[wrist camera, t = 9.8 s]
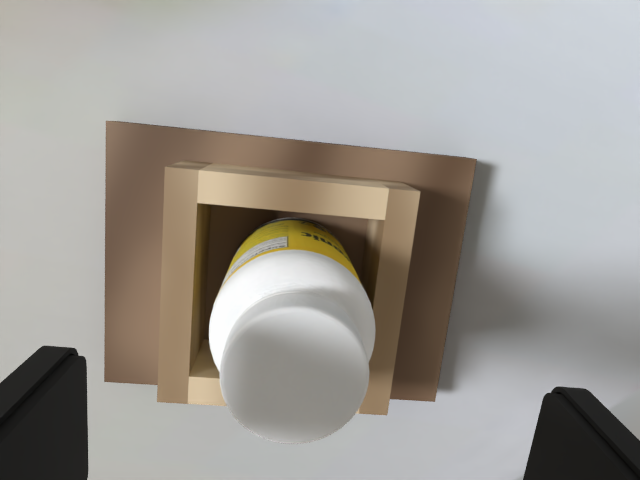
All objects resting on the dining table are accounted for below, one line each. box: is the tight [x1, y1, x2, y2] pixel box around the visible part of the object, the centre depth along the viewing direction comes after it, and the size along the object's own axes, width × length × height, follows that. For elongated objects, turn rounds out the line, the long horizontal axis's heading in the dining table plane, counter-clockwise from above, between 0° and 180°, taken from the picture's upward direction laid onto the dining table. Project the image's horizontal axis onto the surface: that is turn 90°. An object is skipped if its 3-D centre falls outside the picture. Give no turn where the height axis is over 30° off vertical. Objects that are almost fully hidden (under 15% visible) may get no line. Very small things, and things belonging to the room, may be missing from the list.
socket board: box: [104, 121, 477, 415], centre depth 21 cm, size 16×12×5 cm
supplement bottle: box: [209, 218, 376, 444], centre depth 18 cm, size 5×5×10 cm
